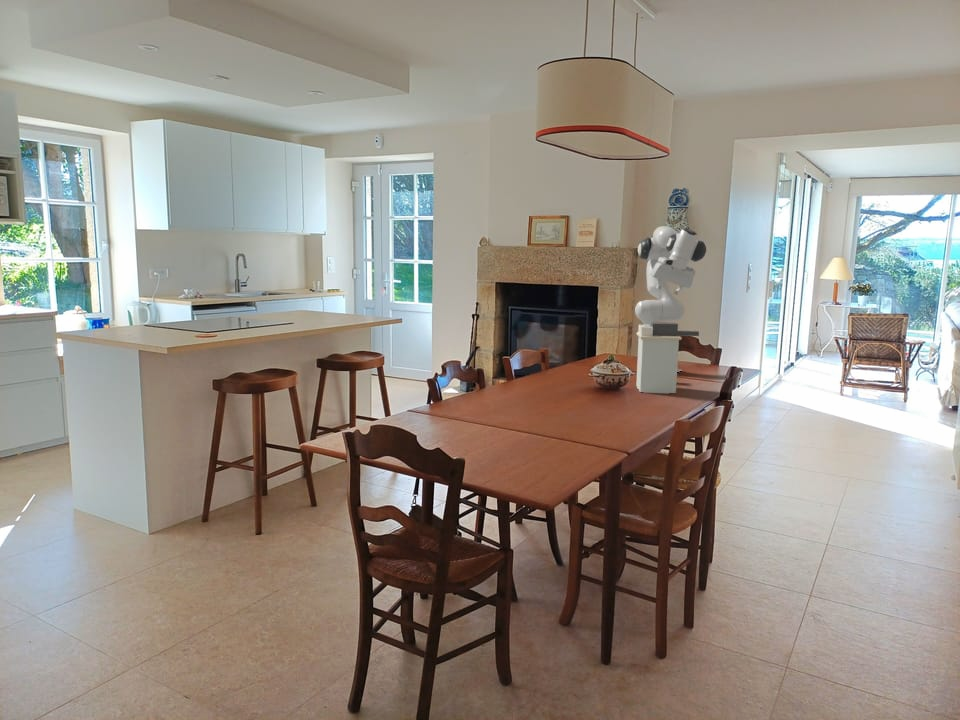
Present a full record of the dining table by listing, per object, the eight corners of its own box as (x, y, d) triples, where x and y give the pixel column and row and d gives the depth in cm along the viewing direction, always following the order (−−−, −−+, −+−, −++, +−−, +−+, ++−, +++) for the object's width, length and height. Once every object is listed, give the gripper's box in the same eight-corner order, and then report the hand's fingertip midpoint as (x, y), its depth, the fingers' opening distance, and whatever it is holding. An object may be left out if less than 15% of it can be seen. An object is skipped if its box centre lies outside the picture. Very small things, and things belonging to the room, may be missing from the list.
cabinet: (671, 386, 328) (674, 333, 324) (678, 394, 311) (681, 337, 306) (633, 385, 330) (636, 332, 326) (638, 392, 312) (641, 336, 308)
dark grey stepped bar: (696, 334, 318) (697, 323, 317) (699, 336, 311) (700, 324, 310) (644, 333, 320) (645, 322, 319) (646, 335, 313) (647, 323, 313)
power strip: (649, 333, 322) (649, 324, 322) (652, 336, 311) (652, 327, 310) (638, 332, 323) (638, 324, 322) (641, 335, 311) (641, 326, 311)
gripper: (693, 268, 323) (682, 295, 327) (655, 256, 318) (645, 284, 321) (699, 270, 317) (688, 298, 321) (661, 259, 312) (650, 287, 315)
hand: (666, 291), depth 321 cm, fingers open, 8 cm apart
